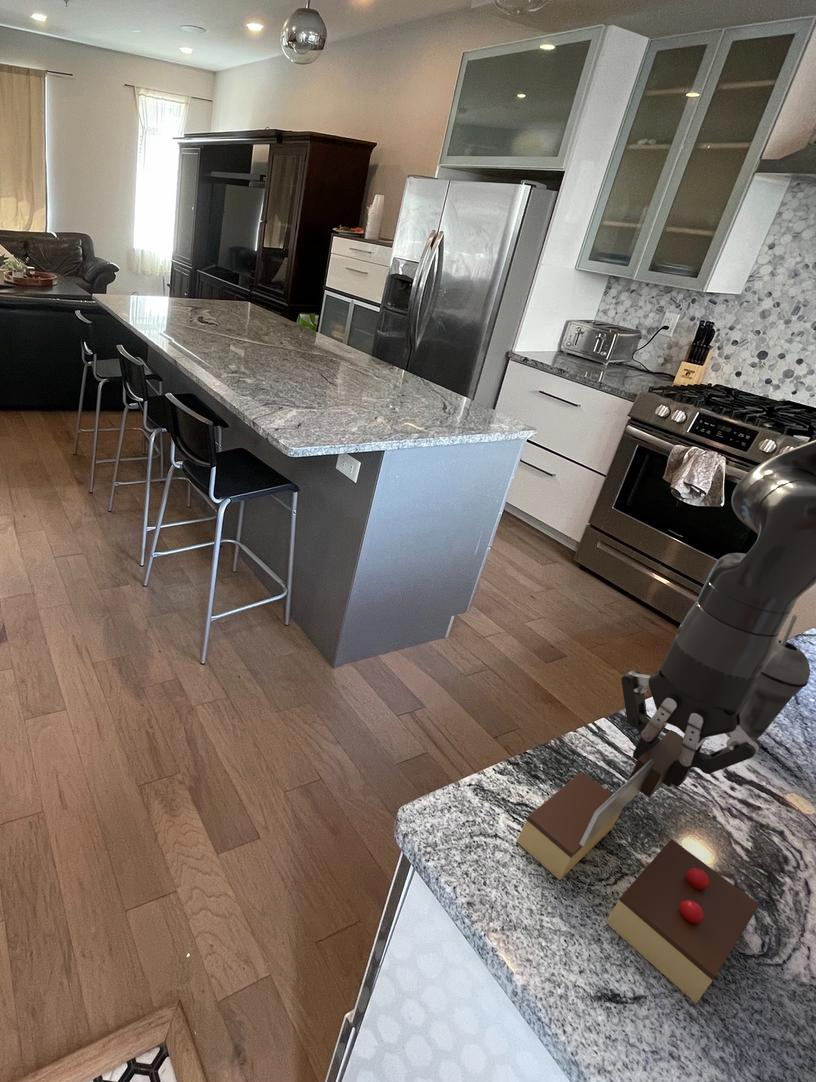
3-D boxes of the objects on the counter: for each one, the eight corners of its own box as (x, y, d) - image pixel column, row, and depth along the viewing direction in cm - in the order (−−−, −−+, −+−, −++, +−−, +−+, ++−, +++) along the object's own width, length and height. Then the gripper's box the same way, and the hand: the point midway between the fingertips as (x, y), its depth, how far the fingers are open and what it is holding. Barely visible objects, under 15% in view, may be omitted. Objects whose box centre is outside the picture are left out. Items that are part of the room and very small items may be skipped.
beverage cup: (779, 757, 87) (854, 639, 79) (723, 744, 88) (792, 627, 80) (749, 720, 94) (815, 608, 86) (697, 708, 94) (759, 596, 87)
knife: (659, 751, 75) (674, 723, 74) (681, 765, 74) (696, 736, 72) (569, 835, 63) (584, 803, 61) (593, 855, 61) (609, 822, 59)
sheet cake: (656, 863, 68) (677, 828, 66) (741, 930, 62) (766, 894, 60) (605, 922, 61) (627, 885, 59) (695, 1004, 55) (723, 965, 53)
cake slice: (570, 795, 75) (582, 771, 74) (612, 828, 72) (625, 803, 70) (516, 841, 68) (527, 815, 67) (559, 880, 65) (573, 854, 63)
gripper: (810, 680, 63) (735, 804, 69) (661, 607, 73) (608, 721, 79) (788, 706, 58) (710, 836, 65) (633, 624, 68) (579, 744, 75)
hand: (654, 772), depth 72 cm, fingers closed on knife, 2 cm apart
